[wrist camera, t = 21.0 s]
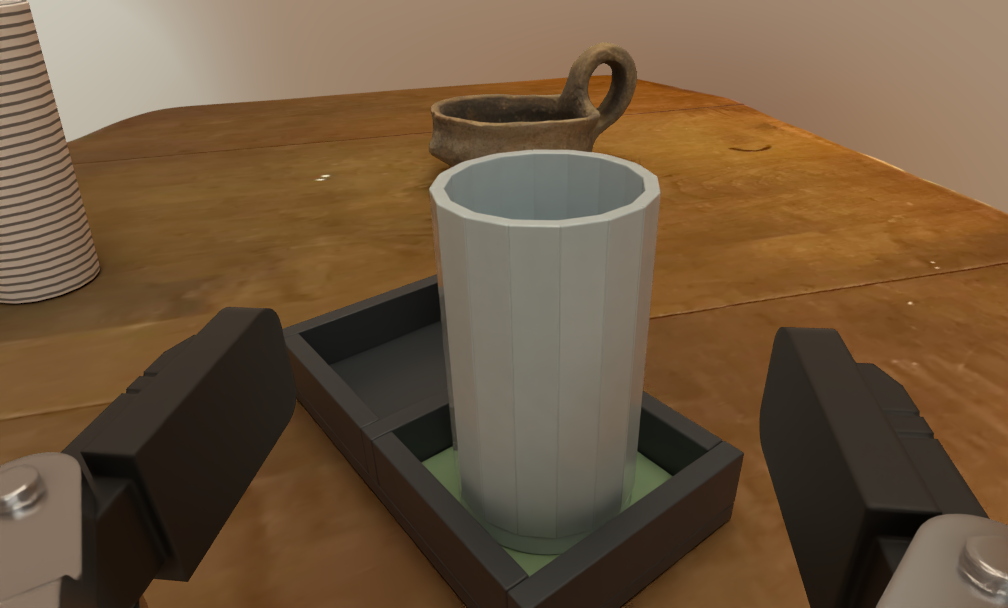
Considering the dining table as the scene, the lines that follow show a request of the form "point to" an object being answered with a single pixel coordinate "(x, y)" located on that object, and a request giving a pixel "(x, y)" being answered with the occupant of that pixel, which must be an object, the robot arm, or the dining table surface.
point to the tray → (431, 468)
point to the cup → (36, 176)
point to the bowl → (534, 114)
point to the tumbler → (545, 336)
